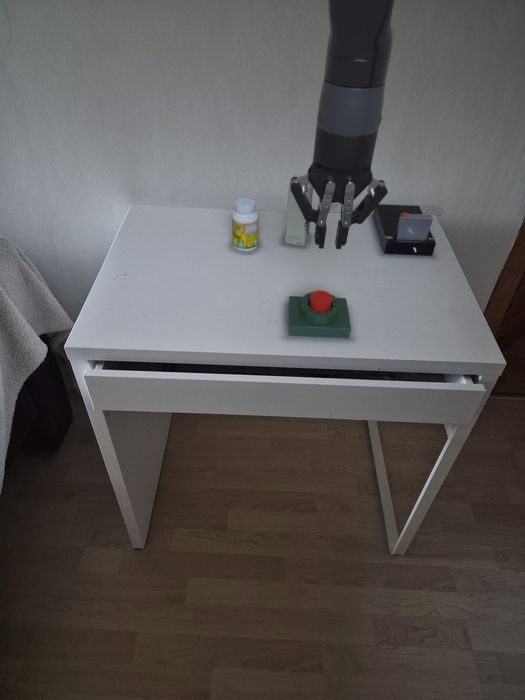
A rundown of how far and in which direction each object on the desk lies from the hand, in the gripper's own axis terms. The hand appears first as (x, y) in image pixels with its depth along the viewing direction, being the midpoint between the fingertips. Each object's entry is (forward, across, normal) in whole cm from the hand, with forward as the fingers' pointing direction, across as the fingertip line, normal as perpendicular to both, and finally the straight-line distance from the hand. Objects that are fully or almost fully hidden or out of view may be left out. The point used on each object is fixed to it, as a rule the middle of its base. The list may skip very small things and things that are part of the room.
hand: (329, 245), depth 66 cm
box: (+15, +3, -26) cm, 31 cm away
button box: (+15, 0, 0) cm, 15 cm away
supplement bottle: (+15, +14, -23) cm, 31 cm away
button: (+11, 0, 0) cm, 11 cm away
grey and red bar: (+12, -20, -23) cm, 33 cm away
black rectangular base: (+15, -20, -28) cm, 38 cm away
